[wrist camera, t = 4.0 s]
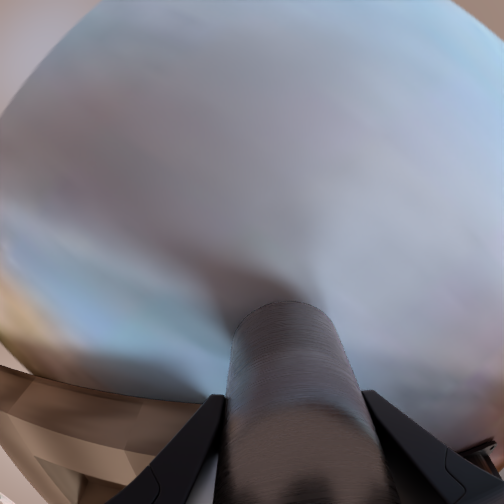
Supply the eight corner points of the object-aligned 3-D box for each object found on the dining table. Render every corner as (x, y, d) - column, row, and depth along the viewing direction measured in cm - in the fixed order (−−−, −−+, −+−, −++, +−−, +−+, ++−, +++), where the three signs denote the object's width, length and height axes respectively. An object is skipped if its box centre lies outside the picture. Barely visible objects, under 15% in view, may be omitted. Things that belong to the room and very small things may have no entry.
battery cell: (344, 300, 11) (458, 539, 2) (330, 385, 12) (379, 588, 3) (230, 300, 11) (186, 577, 2) (233, 387, 12) (213, 602, 3)
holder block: (215, 404, 13) (206, 462, 10) (228, 517, 18) (226, 552, 14) (-1, 364, 14) (-30, 395, 10) (70, 485, 18) (58, 513, 14)
